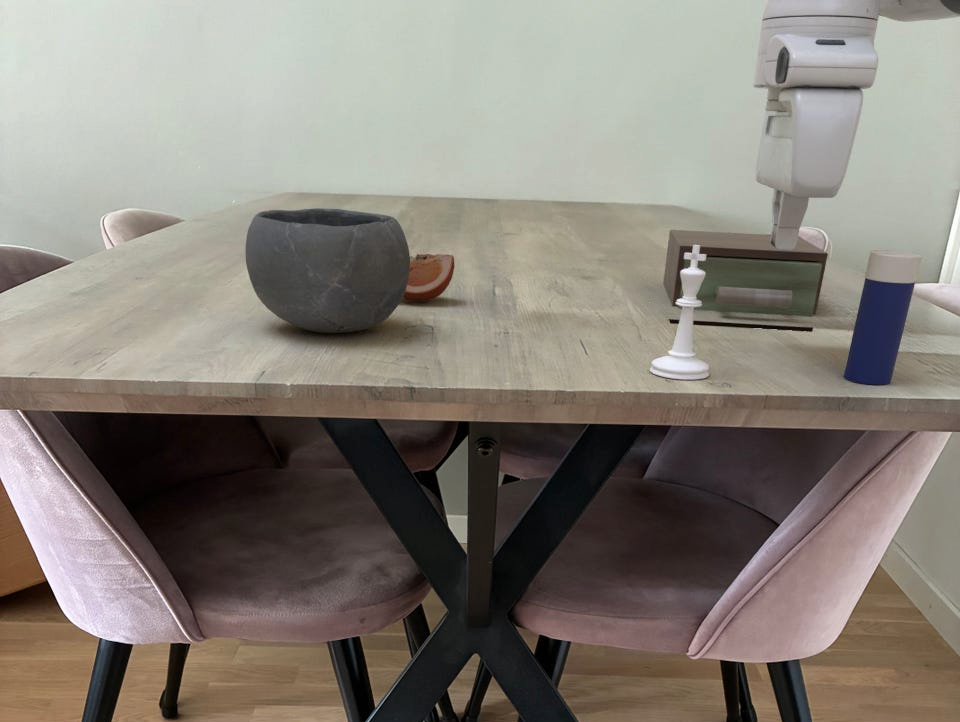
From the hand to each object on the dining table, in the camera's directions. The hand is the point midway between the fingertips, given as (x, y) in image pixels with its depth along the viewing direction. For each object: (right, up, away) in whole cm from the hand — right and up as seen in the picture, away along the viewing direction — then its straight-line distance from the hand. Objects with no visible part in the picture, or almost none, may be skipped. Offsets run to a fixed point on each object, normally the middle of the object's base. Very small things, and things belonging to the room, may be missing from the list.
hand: (782, 248), depth 84 cm
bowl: (-41, -5, +7) cm, 42 cm away
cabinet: (+1, +2, +22) cm, 22 cm away
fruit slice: (-34, +3, +22) cm, 40 cm away
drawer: (+1, +1, +18) cm, 18 cm away
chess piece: (-10, -12, -3) cm, 16 cm away
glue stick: (+6, -12, -3) cm, 14 cm away
